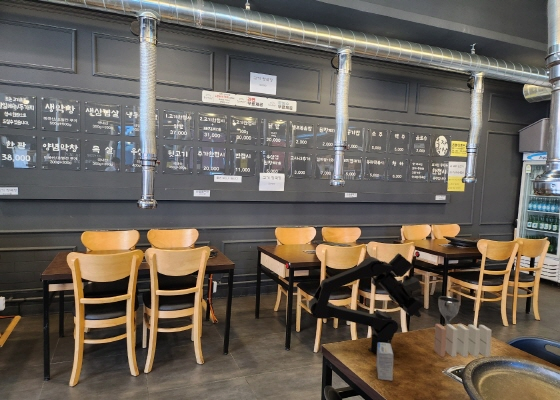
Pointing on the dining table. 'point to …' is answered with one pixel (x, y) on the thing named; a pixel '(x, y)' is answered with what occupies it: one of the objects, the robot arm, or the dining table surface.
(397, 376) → the dining table surface
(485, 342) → the domino
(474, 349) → the domino
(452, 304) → the wine glass
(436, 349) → the domino
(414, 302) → the robot arm
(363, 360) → the dining table surface
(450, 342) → the domino
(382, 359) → the medicine box
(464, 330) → the domino
